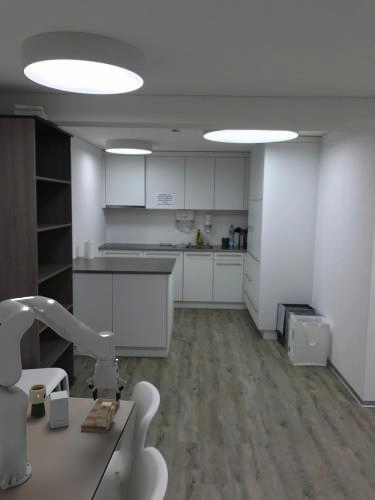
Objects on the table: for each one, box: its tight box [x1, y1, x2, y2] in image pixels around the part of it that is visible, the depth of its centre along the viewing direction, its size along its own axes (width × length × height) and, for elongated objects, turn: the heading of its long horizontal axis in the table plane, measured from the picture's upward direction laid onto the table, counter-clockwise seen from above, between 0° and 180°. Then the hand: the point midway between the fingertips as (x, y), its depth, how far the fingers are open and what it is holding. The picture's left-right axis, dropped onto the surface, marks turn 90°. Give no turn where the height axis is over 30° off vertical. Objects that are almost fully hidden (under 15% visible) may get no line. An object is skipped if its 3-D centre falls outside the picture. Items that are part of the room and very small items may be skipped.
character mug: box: [28, 383, 47, 418], centre depth 174 cm, size 11×7×13 cm, turn 23°
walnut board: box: [80, 397, 121, 434], centre depth 174 cm, size 24×10×3 cm, turn 175°
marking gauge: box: [96, 402, 115, 430], centre depth 167 cm, size 9×5×7 cm, turn 175°
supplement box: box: [49, 390, 69, 429], centre depth 168 cm, size 7×7×13 cm
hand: (106, 399), depth 166 cm, fingers open, 9 cm apart
